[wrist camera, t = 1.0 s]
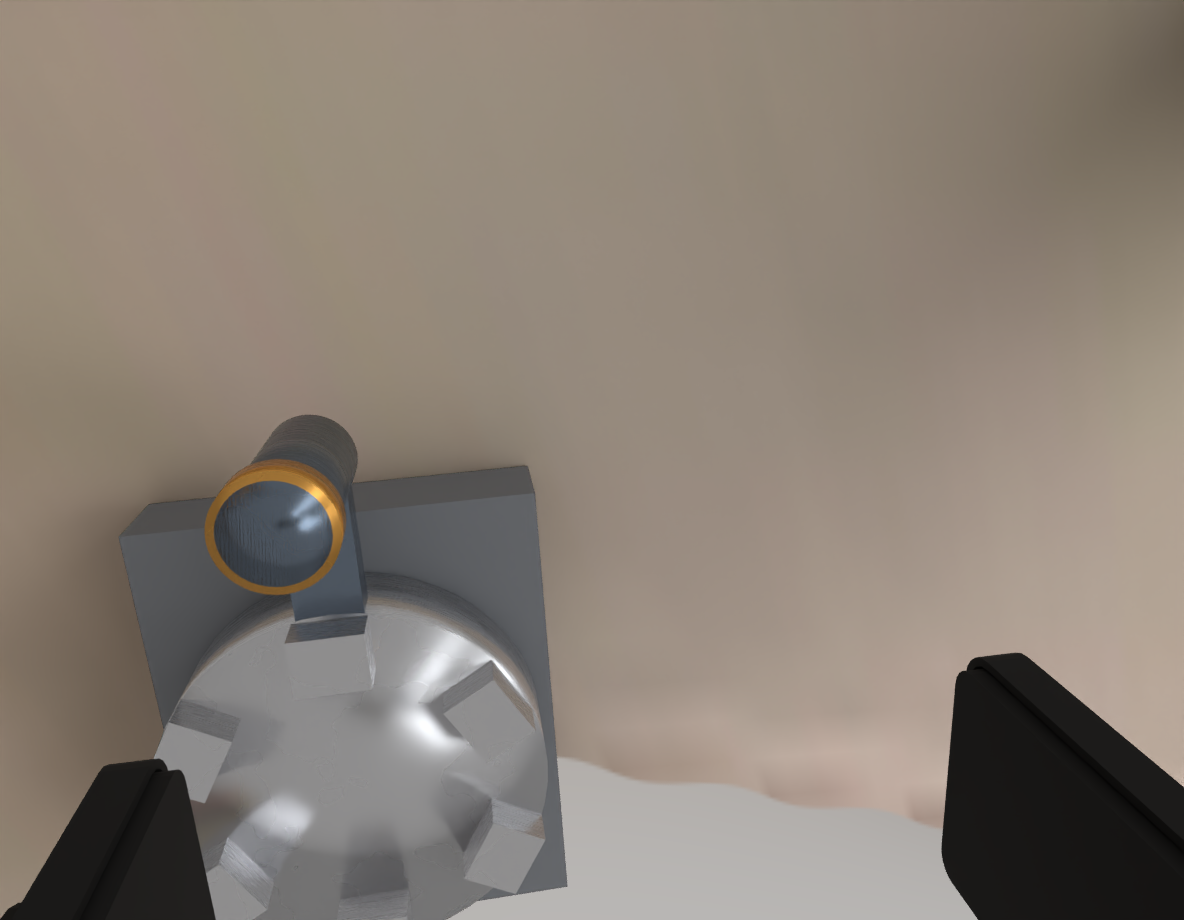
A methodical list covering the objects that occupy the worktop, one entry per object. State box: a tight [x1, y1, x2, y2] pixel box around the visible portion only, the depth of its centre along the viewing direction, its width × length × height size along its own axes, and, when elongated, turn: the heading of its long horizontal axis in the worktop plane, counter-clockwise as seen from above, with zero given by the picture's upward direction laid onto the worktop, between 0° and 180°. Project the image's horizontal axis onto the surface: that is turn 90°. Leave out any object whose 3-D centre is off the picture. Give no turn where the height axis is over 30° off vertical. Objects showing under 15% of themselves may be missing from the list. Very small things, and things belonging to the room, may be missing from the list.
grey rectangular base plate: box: [119, 466, 567, 901], centre depth 33 cm, size 13×16×3 cm
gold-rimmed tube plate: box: [154, 415, 548, 920], centre depth 27 cm, size 18×12×8 cm, turn 3°
